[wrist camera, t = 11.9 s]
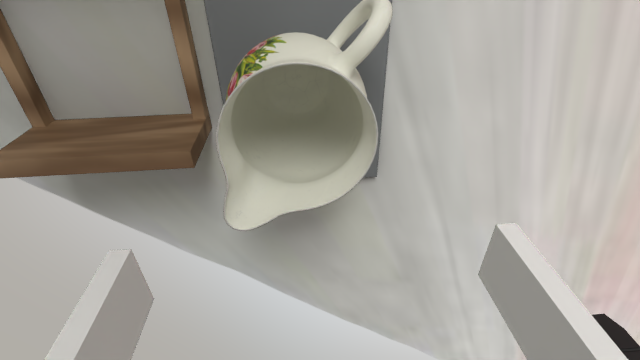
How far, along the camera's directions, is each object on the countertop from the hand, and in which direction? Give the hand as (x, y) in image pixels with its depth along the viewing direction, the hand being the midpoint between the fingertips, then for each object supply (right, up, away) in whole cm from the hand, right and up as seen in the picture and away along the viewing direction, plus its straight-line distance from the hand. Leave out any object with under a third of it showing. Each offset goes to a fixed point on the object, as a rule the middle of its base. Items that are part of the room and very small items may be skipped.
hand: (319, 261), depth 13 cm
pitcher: (-2, +13, +20) cm, 24 cm away
